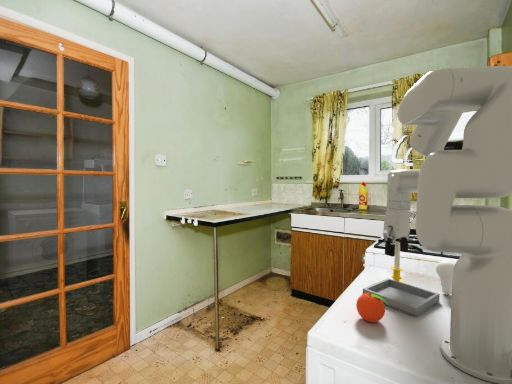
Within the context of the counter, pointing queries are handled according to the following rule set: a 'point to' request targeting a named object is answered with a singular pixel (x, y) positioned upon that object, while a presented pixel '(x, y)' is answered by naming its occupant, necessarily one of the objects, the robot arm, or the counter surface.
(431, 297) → the tray
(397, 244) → the candle
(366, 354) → the counter surface
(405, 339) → the counter surface
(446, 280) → the lightbulb
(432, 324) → the counter surface
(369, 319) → the clementine
